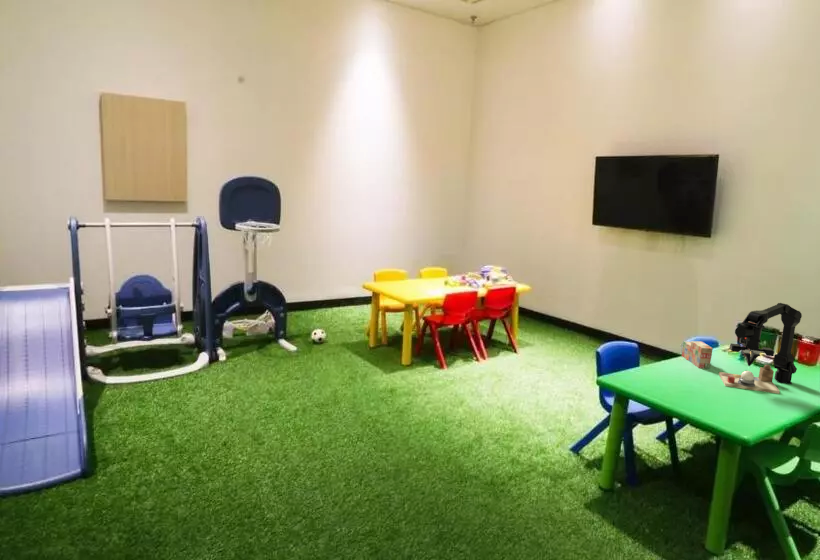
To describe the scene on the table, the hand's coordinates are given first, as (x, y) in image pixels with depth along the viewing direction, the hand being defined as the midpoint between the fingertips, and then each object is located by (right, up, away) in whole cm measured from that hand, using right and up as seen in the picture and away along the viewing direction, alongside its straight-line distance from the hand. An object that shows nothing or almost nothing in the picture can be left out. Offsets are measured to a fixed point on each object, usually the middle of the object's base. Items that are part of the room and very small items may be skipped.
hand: (748, 365), depth 276 cm
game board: (+3, -11, +7) cm, 13 cm away
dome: (0, -8, +2) cm, 8 cm away
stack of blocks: (-7, -4, +39) cm, 40 cm away
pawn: (+14, -9, +8) cm, 19 cm away
